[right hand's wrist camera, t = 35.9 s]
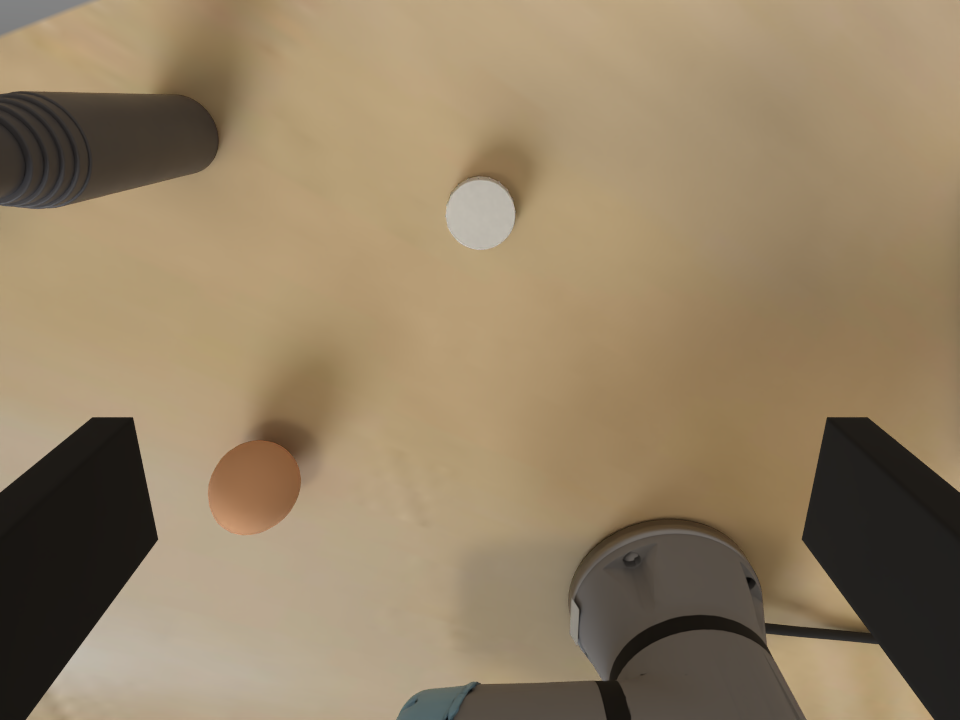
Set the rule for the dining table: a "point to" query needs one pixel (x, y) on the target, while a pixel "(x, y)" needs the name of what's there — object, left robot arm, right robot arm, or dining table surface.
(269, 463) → the egg
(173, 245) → the dining table surface
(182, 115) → the bottle
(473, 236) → the cap
